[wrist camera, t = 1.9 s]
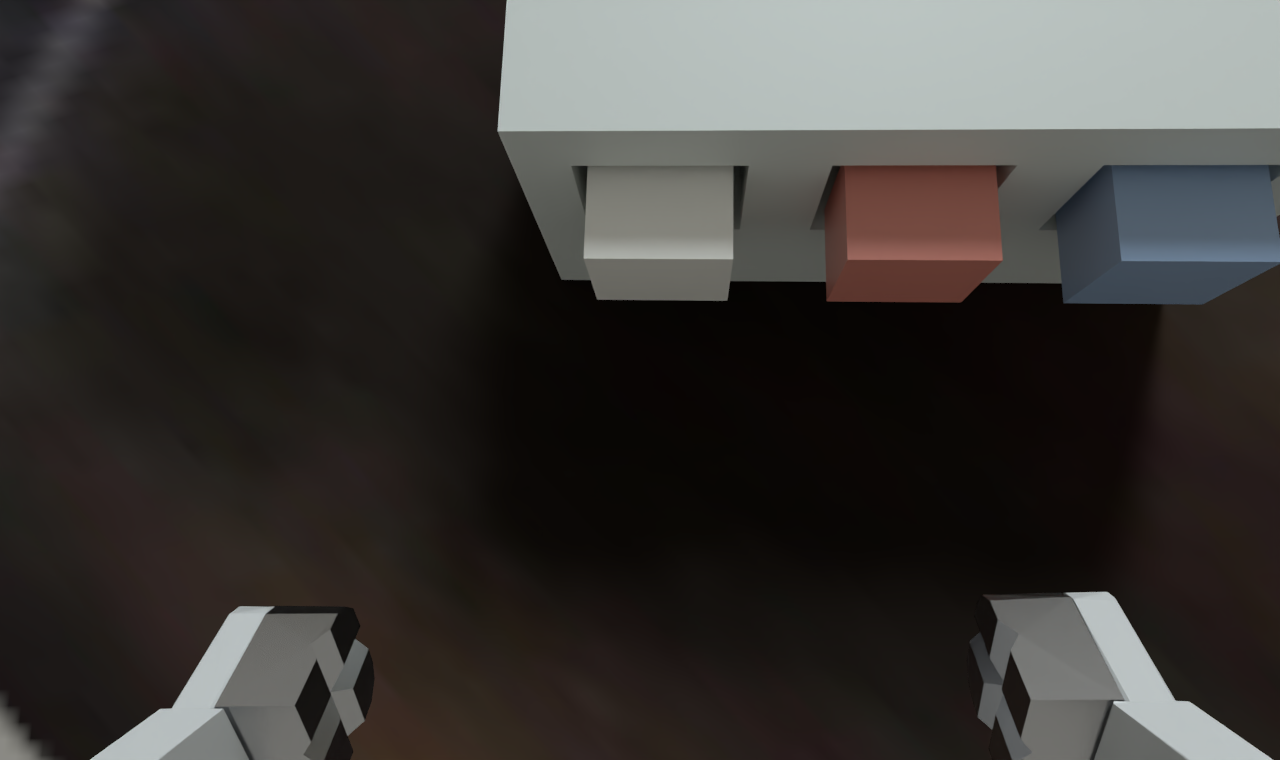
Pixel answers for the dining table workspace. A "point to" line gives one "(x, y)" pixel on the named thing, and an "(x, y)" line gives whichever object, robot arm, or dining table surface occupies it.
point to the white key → (659, 232)
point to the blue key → (1166, 233)
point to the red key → (911, 232)
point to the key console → (879, 105)
